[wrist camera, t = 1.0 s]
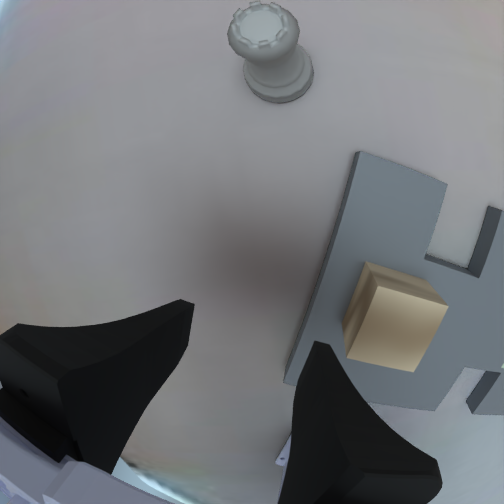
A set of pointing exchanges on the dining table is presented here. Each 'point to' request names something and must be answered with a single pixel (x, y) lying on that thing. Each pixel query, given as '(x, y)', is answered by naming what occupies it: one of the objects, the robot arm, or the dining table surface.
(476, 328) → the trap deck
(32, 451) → the robot arm
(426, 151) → the dining table surface
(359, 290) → the oak block
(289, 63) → the rook chess piece
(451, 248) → the dining table surface
